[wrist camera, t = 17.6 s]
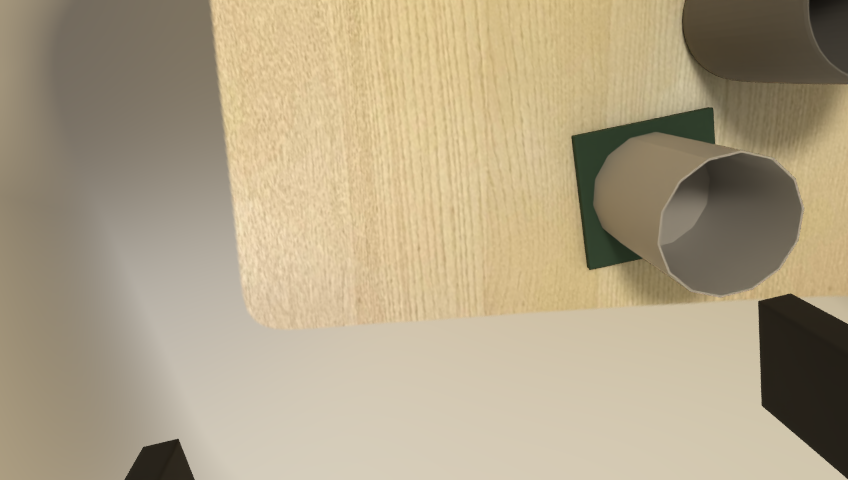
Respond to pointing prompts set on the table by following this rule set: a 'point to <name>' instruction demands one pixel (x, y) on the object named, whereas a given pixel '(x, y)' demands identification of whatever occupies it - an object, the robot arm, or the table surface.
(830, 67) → the mug
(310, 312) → the table surface
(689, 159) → the cup
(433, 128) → the table surface
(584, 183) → the coaster mat
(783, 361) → the robot arm
